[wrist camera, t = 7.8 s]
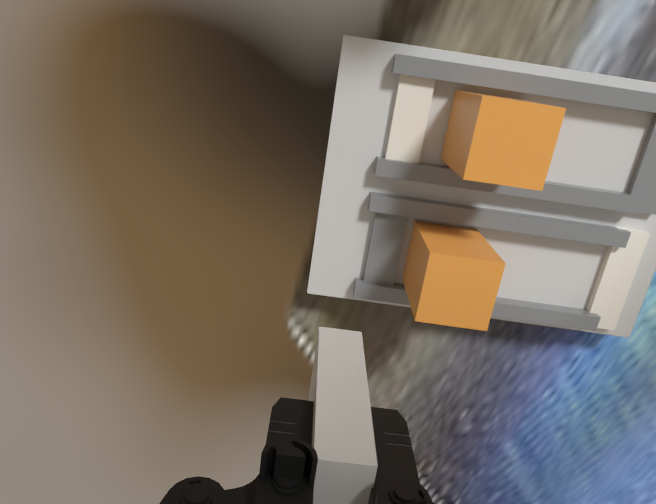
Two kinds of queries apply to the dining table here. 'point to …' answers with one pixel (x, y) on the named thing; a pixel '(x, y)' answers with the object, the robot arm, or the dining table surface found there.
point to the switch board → (490, 186)
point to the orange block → (501, 139)
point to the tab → (451, 276)
